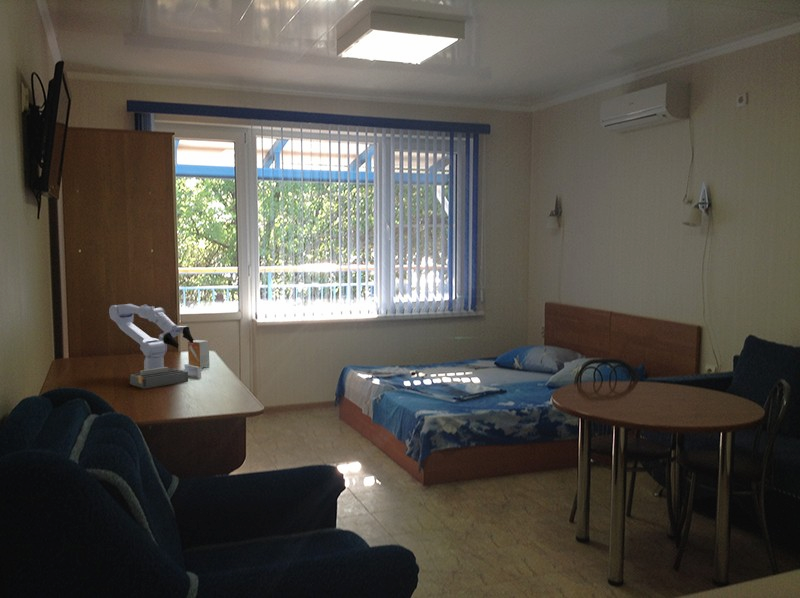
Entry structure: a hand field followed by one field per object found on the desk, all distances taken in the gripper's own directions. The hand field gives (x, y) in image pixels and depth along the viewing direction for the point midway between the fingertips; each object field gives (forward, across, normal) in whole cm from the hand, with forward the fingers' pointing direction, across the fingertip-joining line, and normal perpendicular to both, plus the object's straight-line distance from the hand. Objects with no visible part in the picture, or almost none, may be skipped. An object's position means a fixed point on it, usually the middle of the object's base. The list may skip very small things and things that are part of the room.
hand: (185, 343), depth 300 cm
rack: (+5, -14, +13) cm, 20 cm away
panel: (+6, +3, +16) cm, 18 cm away
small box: (-8, +18, +29) cm, 35 cm away
